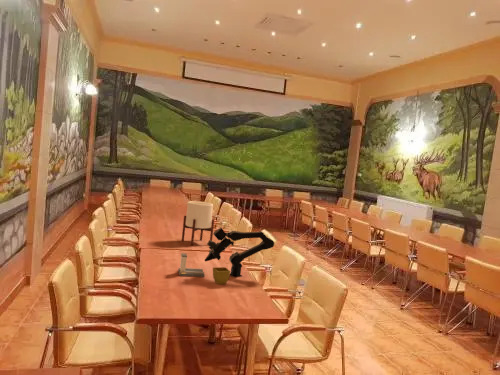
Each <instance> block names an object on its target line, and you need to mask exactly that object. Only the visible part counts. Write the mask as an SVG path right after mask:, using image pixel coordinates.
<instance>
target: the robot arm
mask: <svg viewBox="0 0 500 375" xmlns="http://www.w3.org/2000/svg"><path fill="white" fill-rule="evenodd" d="M213 237H215V238H216V239H217V241H220V242H217V243H216V242H215V241H213V240H212V241H211V240H210V239H209V240H208V242H207V243H206V244H207V246H208V248H209V250H208V254H207V256H206V257H205V259H204V262H209V261H211V260H215V259H216V260H218V261H219V260H221V258H222V256H221V253H222V252H225V251H226V249H227V248H228V247H230V246H232V247H234V245H235V242H236V241H240V240H244V239H261V240H262V241H261V242H260V243H259V244H256V245H255V246H252V247H251V248H249V249H246V250H244V251H242V252H238V251H235V252H234V253H232V254H231V255H230V256H229V262H230V263H231V268H230V274H229V276H231V277H234V278H238V277H243V274H242V273H241V272H242V268H243V265H242V261H244V259H247V258H249V257H251V256H252V255H255V254H257V253H259V252H261V251H264V250H269V249H272V248H273V247H274V246H275V242H274V240H272V238H269V237H268V236H267V235H266V234H265V233H264V232H263V231H261V230H260V231H244V232H243V231H237V230H231V231H230V232H229V231H228V232H225V231H224V229H223V228H222V227H220V228H218V229H216V230H215V231H213Z"/></svg>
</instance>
